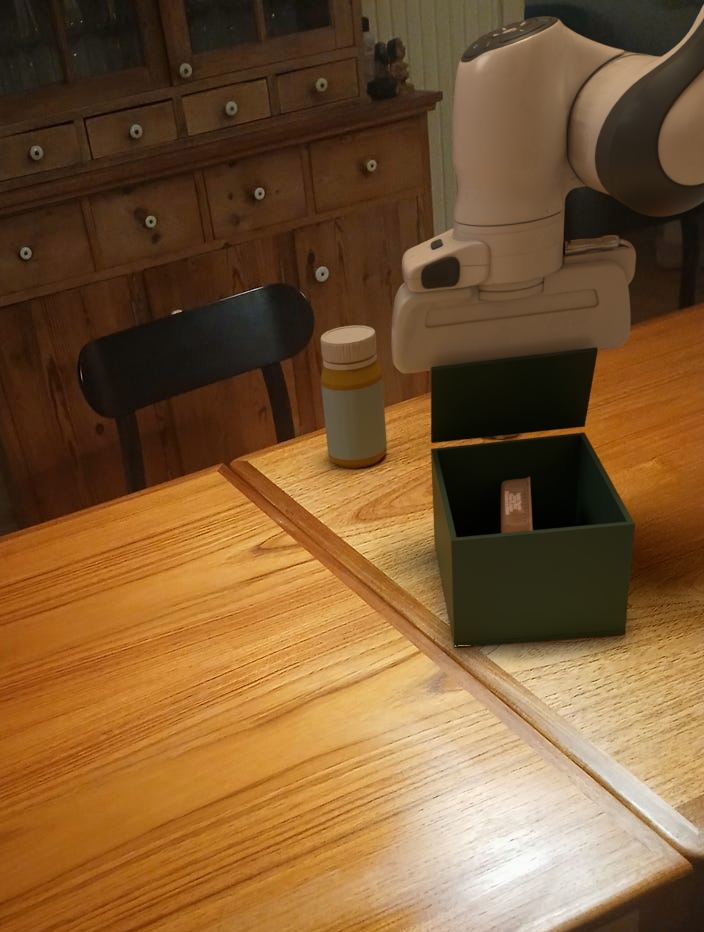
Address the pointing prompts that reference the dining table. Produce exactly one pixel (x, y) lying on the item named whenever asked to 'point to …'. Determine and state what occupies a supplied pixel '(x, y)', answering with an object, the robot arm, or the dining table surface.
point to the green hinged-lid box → (531, 543)
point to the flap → (511, 395)
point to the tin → (516, 506)
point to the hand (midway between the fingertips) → (506, 405)
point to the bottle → (353, 397)
